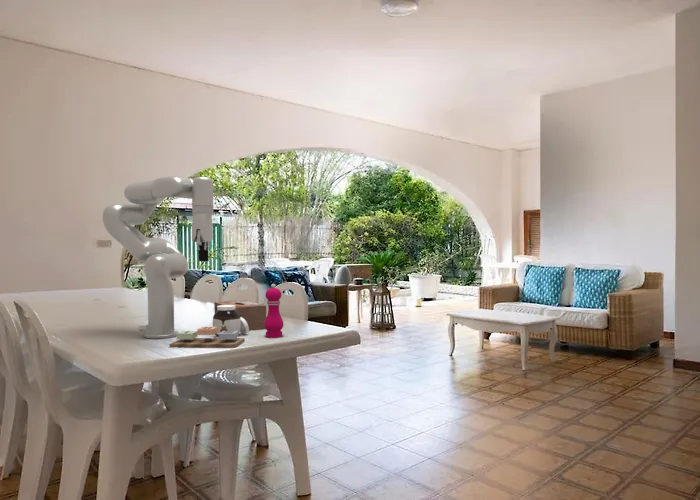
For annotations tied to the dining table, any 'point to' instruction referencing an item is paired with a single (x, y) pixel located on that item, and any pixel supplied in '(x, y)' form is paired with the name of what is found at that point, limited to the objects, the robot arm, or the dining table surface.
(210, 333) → the tile
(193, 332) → the tile
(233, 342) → the board
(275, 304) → the pepper mill
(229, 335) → the tile
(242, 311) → the tissue box cover
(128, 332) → the dining table surface
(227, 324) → the spread jar
